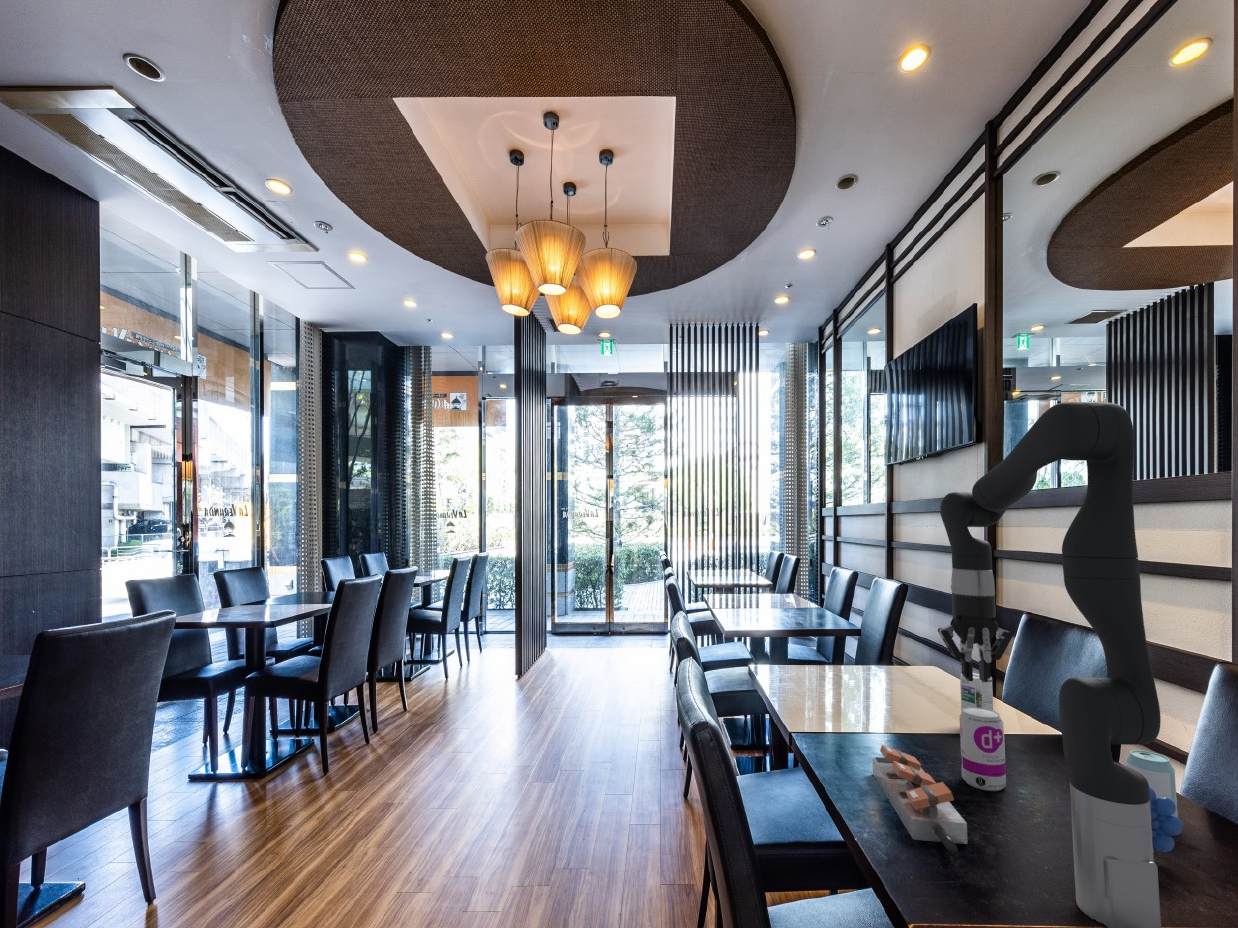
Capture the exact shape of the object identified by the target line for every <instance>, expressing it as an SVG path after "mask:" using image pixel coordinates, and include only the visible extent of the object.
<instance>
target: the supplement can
mask: <svg viewBox="0 0 1238 928" xmlns="http://www.w3.org/2000/svg"><path fill="white" fill-rule="evenodd" d="M958 717H959V737H960V738H959V739H960V760H961V761H960V762H961V763H960V765H961V777H962V779H963V780H964V781H965V783H966V784H968V785H969V786H970V787H973V788H976V789H978V790H983V791H988V792H989V791H990V792H997V791H998V792H999V791H1001V790H1003V789H1004V788H1005V787H1006V786H1007V772H1006V771H1007V770H1006V768H1007V767H1006V750H1005V749H1006V748H1005V727H1004V726H1005V725H1004V721H1003V719H1002V718H1001V715H1000V713H999V712H997V711H995V710H993V711H992V710H989V709H985V708H978V707H966V708H963V709H962V713H960V715H959V716H958Z"/></svg>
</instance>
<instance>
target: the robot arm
mask: <svg viewBox="0 0 1238 928" xmlns="http://www.w3.org/2000/svg"><path fill="white" fill-rule="evenodd" d="M1134 458H1135V431H1134V426H1133V421H1132V418H1131V416H1130V414H1129V413H1128V411H1127V410H1126V409H1125V408H1124V407H1123V406H1121V405H1120V404H1118V403H1113V402H1103V401H1101V402H1099V401H1098V402H1097V401H1065V402H1059V403H1056V404H1054V405H1052V406H1050V407H1049V408H1047V410H1046V411H1044V412H1043V413H1042V414H1041V415H1040V417H1039V418H1038V419H1037V420H1036V421H1035V422H1034V423H1033V425H1032V426H1031V427H1030V428H1029V430H1027V431H1026V433H1025V434H1024V435H1023V436H1022V437H1021V439H1020V440H1019V441H1018V443H1016V445H1015V446H1014V448H1013V449H1012V450H1011V452H1009V454H1007V456H1006V457H1005V458H1004V459H1002V461H1001V462H999V463H998V464H996V466H994V467H993V468H992V469H990V470H989V471H987V473H985V474H983V476H981V477H980V478H978V480H977V481H975V483H974V484H973V486H972V488H971V491H970V492H969V491H966V492H963V491H962V492H961V491H959V492H958V491H957V492H956V491H955V492H949V493H947V494H946V495H945V496H944V497H943V498H942V500H941V503H940V507H939V510H940V511H939V513H940V517H941V520H942V523H943V526H944V529H945V531H946V536H947V538H948V542H949V546H950V547H951V548H950V550H951V567H952V569H951V570H952V571H951V579H950V582H951V584H950V590H951V604H952V605H951V607H952V608H951V609H952V610H951V611H952V612H951V613H952V619H951V621H950V624H949V625H947V626H946V627H939V628H937V632H938V634H939V636H940V638H941V639H942V641H943V643H944V645H945V646H946V648H947V650H948V651H949V653H950V654H951V655H952V656H953V657H955V658H956V659H959V660H960V661H961V663H960V664H961V668H960V669H961V674H962V675H963V676H964V677H965V679H966V680H968V681H973V673H974V670H973V662H972V657H973V650H974V645H976V647H977V649H978V654H979V655H978V656H979V659H980V660H979V659H978V674H979V678H980V680H981V681H983V682H988V679H990V677H992V676H991V674H992V673H991V663H992V661H995V660H997V661H1000V660H1001V659H1002V657H1003V655H1004V654H1005V651H1006V650H1007V648H1008V647H1009V644H1010V642H1011V640H1012V639H1013V637H1014V636H1013V633H1012V632H1010V631H1008V630H1005V629H1003V628H1001V627H999V624H998V622H997V620H996V619H997V618H996V617H997V616H996V615H997V612H996V590H995V588H996V587H995V578H994V573H993V557H992V556H993V555H992V553H993V552H992V546H991V543H990V542H989V541H986V540H983V539H980V538H975V537H973V535H972V534H971V532H970V530H969V528H987V527H990V526H993V525H995V524H997V523H998V522H999V521H1001V518H1002V517H1003V515H1004V514H1005V513H1006V511H1007V510H1008V507H1011V506H1012V505H1013V504H1015V503H1016V502H1018V501H1019V500H1022V498H1024V497H1026V496H1027V495H1028V494H1029V493H1030V492H1031V491H1032V490H1033V488H1034V486H1035V484H1036V483H1037V477H1038V471H1039V470H1040V469H1042V468H1043V467H1045V466H1049V465H1050V464H1052V463H1055V462H1058V461H1061V460H1063V461H1064V460H1065V461H1083V462H1084V461H1085V462H1086V468H1087V470H1086V472H1087V488H1086V493H1085V497H1084V500H1083V503H1082V504H1081V506H1080V508H1079V510H1078V512H1077V513H1076V515H1075V517H1074V518H1073V520H1072V521H1071V524H1070V525H1069V527H1068V529H1067V530H1066V534H1065V536H1064V538H1063V541H1062V545H1061V558H1062V562H1061V563H1062V572H1063V582H1064V586H1065V590H1066V592H1067V595H1068V596H1069V598H1070V599H1071V601H1072V602H1073V603H1074V605H1075V607H1076V608H1077V609H1078V611H1079V612H1080V613H1081V615H1082V616H1083V618H1084V619H1085V620H1086V622H1087V623H1088V624H1089V625H1090V626H1091V628H1092V629H1093V631H1094V632H1095V634H1096V636H1097V637H1098V639H1099V641H1100V644H1101V647H1102V649H1103V653H1104V657H1105V663H1106V677H1086V676H1085V677H1083V676H1082V677H1070V678H1068V679H1066V680H1064V682H1063V683H1062V685H1061V686H1060V689H1059V694H1058V709H1059V710H1058V712H1059V721H1060V728H1061V737H1062V748H1063V749H1062V750H1063V756H1064V760H1065V763H1066V767H1067V769H1068V773H1069V774H1068V775H1069V789H1070V790H1069V792H1070V809H1071V812H1070V813H1071V814H1070V815H1071V828H1072V829H1071V831H1072V846H1073V848H1072V850H1073V866H1074V867H1073V869H1074V870H1073V871H1074V883H1075V884H1074V885H1075V888H1074V889H1075V900H1076V901H1075V902H1076V905H1077V906H1078V909H1080V911H1081V912H1082V913H1084V915H1086V916H1087V917H1089V918H1090V919H1092V920H1094V919H1095V920H1096V921H1095V920H1094V921H1095V922H1097V921H1098V922H1097V923H1099V922H1100V924H1101V923H1103V924H1104V925H1103V924H1102V925H1103V926H1105V925H1106V927H1107V928H1162V923H1161V922H1162V921H1161V920H1162V918H1161V905H1160V902H1161V901H1160V893H1159V892H1160V888H1159V887H1160V886H1159V875H1158V874H1159V872H1158V865H1157V864H1156V863H1155V861H1154V859H1155V857H1154V853H1153V849H1154V847H1153V843H1152V827H1151V809H1150V791H1149V784H1148V781H1147V779H1146V778H1145V777H1144V776H1143V775H1142V774H1140V773H1139V772H1137V771H1135V770H1133V769H1131V768H1129V767H1127V766H1126V765H1123V764H1121V763H1118V762H1115V761H1114V759H1113V755H1112V751H1111V750H1112V749H1111V745H1125V746H1126V745H1134V746H1136V745H1148V744H1151V743H1153V742H1155V740H1156V739H1157V737H1158V736H1159V734H1160V731H1161V724H1162V723H1161V719H1162V718H1161V707H1160V702H1159V701H1160V700H1159V697H1158V693H1157V688H1156V683H1155V682H1156V681H1155V678H1154V673H1153V669H1152V664H1151V658H1150V654H1149V650H1148V644H1147V636H1146V629H1145V620H1144V611H1143V603H1142V591H1141V589H1142V588H1141V587H1142V586H1141V572H1140V563H1139V562H1140V560H1139V553H1138V547H1137V539H1136V527H1135V513H1134V512H1135V509H1134V493H1133V492H1134V461H1135V459H1134ZM954 633H955V634H956V635H957V637H959V646H960V649H959V647H958V646H957V645H956V643H955V641H954V639H953V638H954V637H955V635H954ZM994 636H995V638H996V640H995V642H994V643H993V645H992V647H991V640H992V638H993V637H994Z"/></svg>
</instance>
